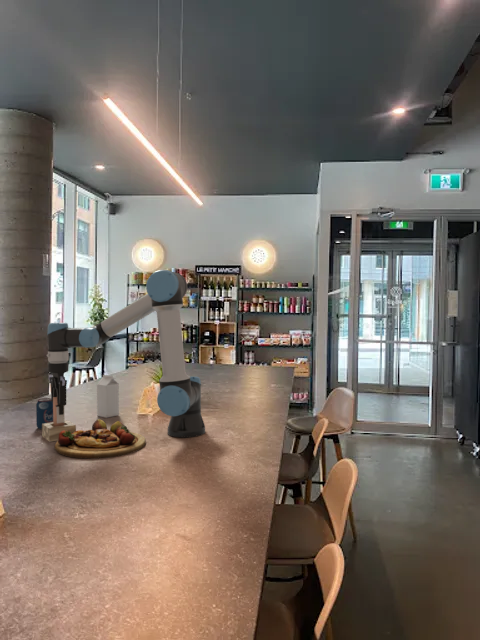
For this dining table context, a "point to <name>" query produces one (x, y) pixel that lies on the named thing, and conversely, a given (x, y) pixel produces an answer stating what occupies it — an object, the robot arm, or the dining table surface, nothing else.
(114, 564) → the dining table surface
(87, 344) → the robot arm
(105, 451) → the wooden plate with food
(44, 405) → the soda can
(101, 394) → the milk carton
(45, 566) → the dining table surface
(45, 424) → the socket block
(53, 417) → the pink upright block
